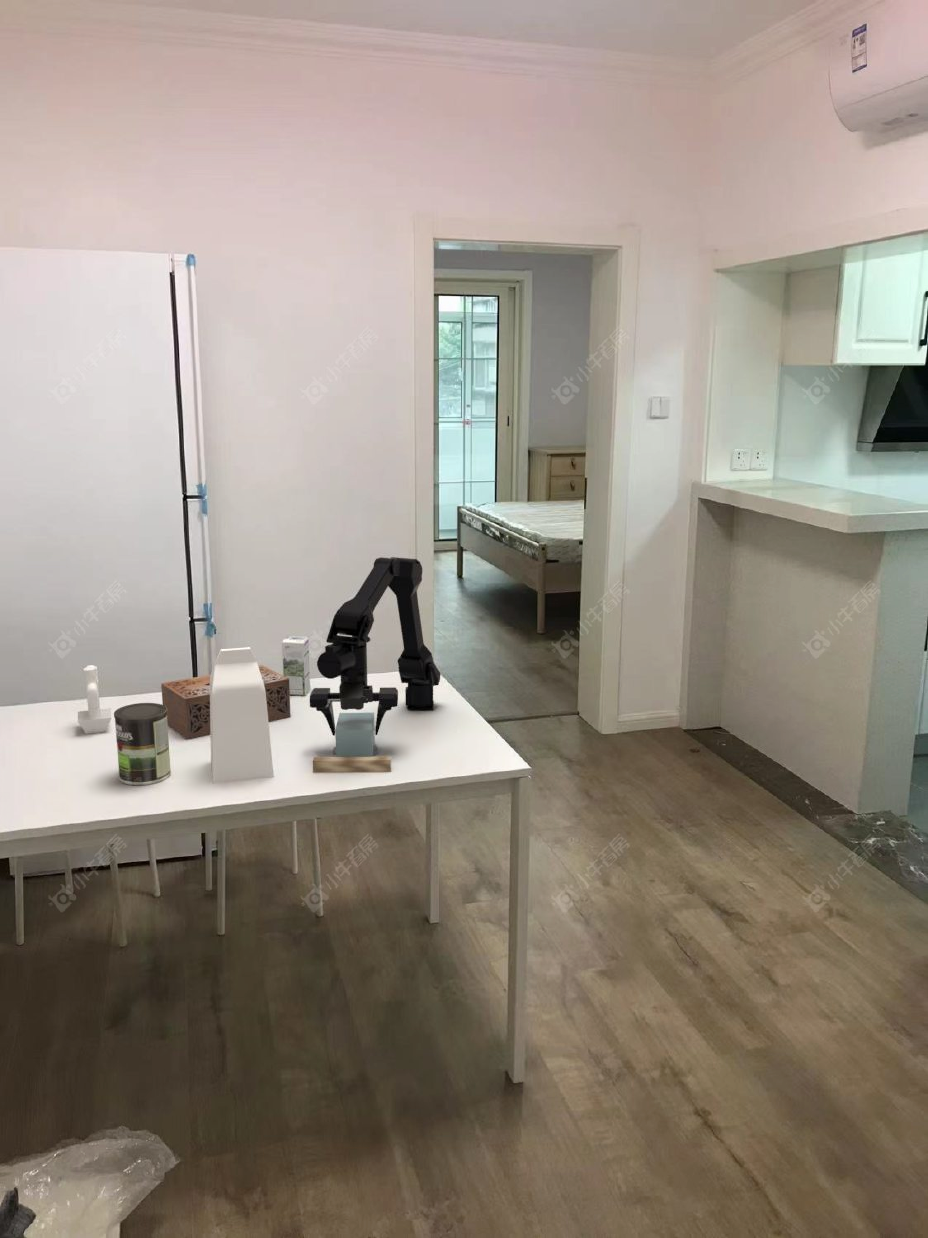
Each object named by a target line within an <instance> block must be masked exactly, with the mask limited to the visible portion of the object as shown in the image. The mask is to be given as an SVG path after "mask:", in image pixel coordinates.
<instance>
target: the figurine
mask: <svg viewBox="0 0 928 1238" xmlns="http://www.w3.org/2000/svg"><path fill="white" fill-rule="evenodd" d="M98 674H99V672H98V667H97V666H96V665H93V664H90V665H86V667H85V668H83V675H84V679H85V690H86V700H87V702H86V703H87V710H81V711H77V723H78V724H79V726H80V727H81V729H82V730H83V731H84V733H85V734H86V735H88V734H89V735H90V734H97V733H106V732H107V730H108V727H109V726H110V725H109V724H110V722H111V720H112V709H111V708H101V706H100V705H101V704H100V695H99V678H98V677H99V676H98Z"/></svg>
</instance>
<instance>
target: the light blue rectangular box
mask: <svg viewBox="0 0 928 1238" xmlns="http://www.w3.org/2000/svg"><path fill="white" fill-rule="evenodd" d="M375 736H376V735H375V712H339V714H338V718H337V722H336V724H335V747H336V756H335V757H374V756H373V749H374V745H375V742H376V740H375V739H376V737H375Z"/></svg>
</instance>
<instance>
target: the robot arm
mask: <svg viewBox="0 0 928 1238" xmlns="http://www.w3.org/2000/svg"><path fill="white" fill-rule="evenodd" d="M421 563H422V562H420V560H418V559H416V558H407V557H406V558H405V557H396V556H394V557H393V556H392V557H381V556H380V557H376V559H375V560H374V562H373V567H372V568H371V570H370V572H369V574H368V575H367V577H366V578H365V580H364V582H363V583H362V584H361V587H360V588H359V589H358V591H357V593H356V594H355V596H354V597H353V598H352V599H351V598H350V599H349V600H347V601H345V602H344V603H342V605H341V606H340V607H339V608H338V609H337V611H336V612H335V614H334V616H333V619H332V622H331V625H330V628H329V631H328V634H327V637H326V643H329V644H327V645H325V647H324V649H325V650H324V651H323V652H322V653H321V654H319V656H318V660H317V661H316V666H317V669H318V671H319V673H320V674H321V675H322V677H324V678H325V679H330V680H331V679H333V680H334V679H335V678H338V677H340V684H339V687H338V688H339V689H338V691H339V692H331V688H330V687H313V689H312V690H311V691H310V692H311V693H310V695H309V708H313V709H314V708H315V710H316V711H318V712H321V713H322V714H323V716H324V717H325V719H326V721H327V724H328V726H329V729H330V732H331V734H332V736H335V729H336V723H335V716H334V705H333V703H334V702H336V703H337V702H339V703H340V709H341V710H344V711H347V710H357V711H361V710H362V709H364V706H365V704H368V703H373V702H378V704H377V705H378V706H377V713H376V721H375V726H374V729H375V736H378V735H379V730H380V728H381V724H382V721H383V719H384V716H385V715H386V712H388V711H392V709H393V708H397V707H398V706H399V705H398V702H399V689H397V687H379V691H378V692H374V689H373V685H368V658H367V657H368V653H367V652H368V651H367V650H368V649H367V644H368V643H369V642H371V637H370V636H369V634H370V631H371V630H372V627H373V624H374V622H375V618H374V617H375V616H374V611H375V608H376V607H377V605H378V604H379V603H380V601H381V599H382V597H383V595H384V594H385V592H386V590H387V589H388V588H389V589H390V590H391V592H393V594H394V595H395V597H396V602H397V611H398V617H399V625H400V631H401V637H402V643H403V645H402V646H403V650H402V652H401V654H400V656H399V658H398V659H397V665H398V674H399V679H400V683H401V684H407V686H405V699H404V700H405V706H407V708H406V709H407V710H408V711H433V710H435V703H434V701H435V700H434V687H435V686H440V685H439V684H440V681H441V676H442V675H441V671H440V670H439V669H438V667H437V665H436V664H435V662H434V659H433V654H432V651H430V649H429V648H428V647H427V646H426V645H425V644H424V643H425V642H424V636H423V635H424V634H423V629H422V621H421V614H420V607H419V599H418V588H419V587H420V586H421V583H422V580H423V576H422V575H423V566H422V564H421ZM338 634H339V635H338Z"/></svg>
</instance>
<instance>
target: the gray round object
mask: <svg viewBox="0 0 928 1238" xmlns="http://www.w3.org/2000/svg"><path fill="white" fill-rule="evenodd" d="M379 751H380V749H379V747H378V745H377V744H374V749H373V757H375V755H377V754H379ZM332 753H333V756H334V757H336V746H335V747H334V748H333V749H332Z"/></svg>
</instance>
